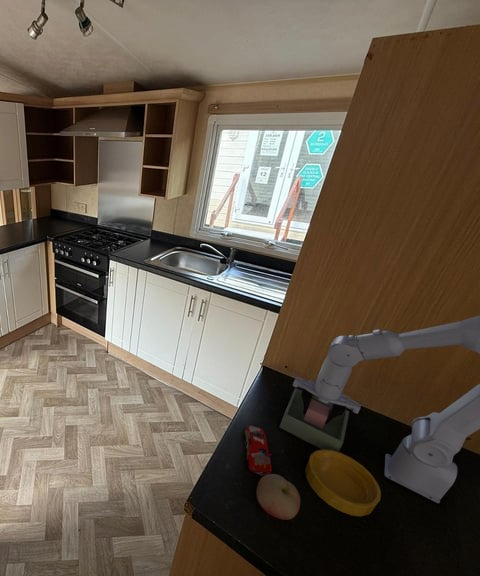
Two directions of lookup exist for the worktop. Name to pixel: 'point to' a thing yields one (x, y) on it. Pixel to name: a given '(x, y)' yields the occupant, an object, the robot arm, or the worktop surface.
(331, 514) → the worktop surface
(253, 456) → the race car
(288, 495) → the fruit
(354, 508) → the bowl
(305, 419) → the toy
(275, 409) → the worktop surface
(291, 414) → the bin
